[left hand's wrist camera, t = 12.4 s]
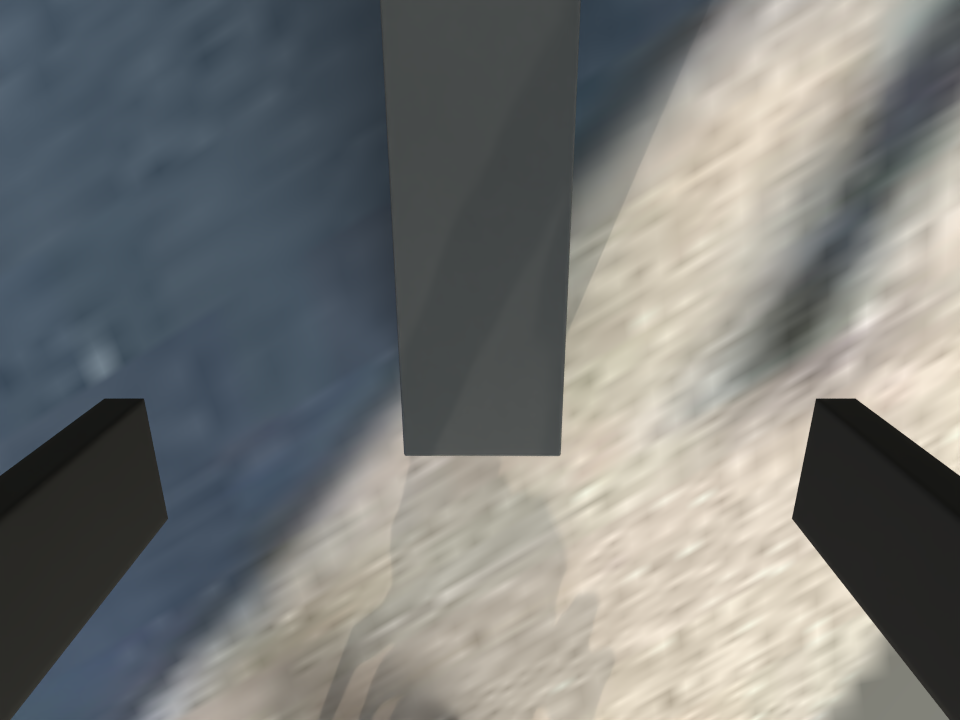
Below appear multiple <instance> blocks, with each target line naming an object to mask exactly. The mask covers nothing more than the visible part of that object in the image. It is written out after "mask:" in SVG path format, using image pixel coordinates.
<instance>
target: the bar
mask: <svg viewBox="0 0 960 720" xmlns="http://www.w3.org/2000/svg"><path fill="white" fill-rule="evenodd" d="M580 1H581V0H380V8H381V27H382V46H383V65H384V83H385V102H386V121H387V140H388V159H389V177H390V196H391V215H392V234H393V253H394V271H395V290H396V309H397V328H398V347H399V365H400V384H401V403H402V422H403V441H404V454H405V456H560V454H561V432H562V410H563V387H564V364H565V342H566V319H567V296H568V273H569V251H570V228H571V205H572V183H573V160H574V137H575V115H576V92H577V69H578V47H579V24H580Z"/></svg>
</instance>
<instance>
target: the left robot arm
mask: <svg viewBox="0 0 960 720" xmlns="http://www.w3.org/2000/svg"><path fill="white" fill-rule="evenodd" d="M167 519H168V517H167V512H166V507H165V502H164V497H163V492H162V487H161V482H160V477H159V472H158V467H157V462H156V457H155V452H154V447H153V442H152V437H151V432H150V427H149V422H148V417H147V412H146V407H145V402H144V399H103V400H102V401H101V402H99V403H98V404H97V405H95V406H94V407H93V408H91V409H90V410H89V411H87V412H86V413H85V414H83V415H82V416H81V417H79V418H78V419H76V420H75V421H74V422H72V423H71V424H70V425H68V426H67V427H66V428H64V429H63V430H62V431H60V432H59V433H58V434H56V435H55V436H54V437H52V438H51V439H49V440H48V441H47V442H45V443H44V444H43V445H41V446H40V447H39V448H37V449H36V450H35V451H33V452H32V453H31V454H29V455H28V456H27V457H25V458H24V459H22V460H21V461H20V462H18V463H17V464H16V465H14V466H13V467H12V468H10V469H9V470H8V471H6V472H5V473H4V474H2V475H1V476H0V720H11V718H12V717H13V716H14V714H15V713H16V712H17V711H18V709H19V708H20V707H21V705H22V704H23V703H24V702H25V700H26V699H27V698H28V697H29V695H30V694H31V693H32V691H33V690H34V689H35V688H36V686H37V685H38V684H39V683H40V681H41V680H42V679H43V677H44V676H45V675H46V674H47V672H48V671H49V670H50V668H51V667H52V666H53V665H54V663H55V662H56V661H57V660H58V658H59V657H60V656H61V654H62V653H63V652H64V651H65V649H66V648H67V647H68V646H69V644H70V643H71V642H72V640H73V639H74V638H75V637H76V635H77V634H78V633H79V632H80V630H81V629H82V628H83V626H84V625H85V624H86V623H87V621H88V620H89V619H90V617H91V616H92V615H93V614H94V612H95V611H96V610H97V609H98V607H99V606H100V605H101V603H102V602H103V601H104V600H105V598H106V597H107V596H108V595H109V593H110V592H111V591H112V589H113V588H114V587H115V586H116V584H117V583H118V582H119V580H120V579H121V578H122V577H123V575H124V574H125V573H126V572H127V570H128V569H129V568H130V566H131V565H132V564H133V563H134V561H135V560H136V559H137V558H138V556H139V555H140V554H141V552H142V551H143V550H144V549H145V547H146V546H147V545H148V543H149V542H150V541H151V540H152V538H153V537H154V536H155V535H156V533H157V532H158V531H159V529H160V528H161V527H162V526H163V524H164V523H165V522H166V521H167ZM792 519H793V521H794V522H795V523H796V524H797V526H798V527H799V528H800V529H801V531H802V532H803V533H804V535H805V536H806V537H807V538H808V540H809V541H810V542H811V543H812V545H813V546H814V547H815V549H816V550H817V551H818V552H819V554H820V555H821V556H822V558H823V559H824V560H825V561H826V563H827V564H828V565H829V566H830V568H831V569H832V570H833V572H834V573H835V574H836V575H837V577H838V578H839V579H840V580H841V582H842V583H843V584H844V586H845V587H846V588H847V589H848V591H849V592H850V593H851V595H852V596H853V597H854V598H855V600H856V601H857V602H858V603H859V605H860V606H861V607H862V609H863V610H864V611H865V612H866V614H867V615H868V616H869V617H870V619H871V620H872V621H873V623H874V624H875V625H876V626H877V628H878V629H879V630H880V632H881V633H882V634H883V635H884V637H885V638H886V639H887V640H888V642H889V643H890V644H891V646H892V647H893V648H894V649H895V651H896V652H897V653H898V654H899V656H900V657H901V658H902V660H903V661H904V662H905V663H906V665H907V666H908V667H909V669H910V670H911V671H912V672H913V674H914V675H915V676H916V677H917V679H918V680H919V681H920V682H921V684H922V685H923V686H924V688H925V689H926V690H927V691H928V693H929V694H930V695H931V697H932V698H933V699H934V700H935V702H936V703H937V704H938V705H939V707H940V708H941V709H942V711H943V712H944V713H945V714H946V716H947V717H948V718H949V720H960V476H959V475H958V474H956V473H955V472H954V471H952V470H951V469H950V468H948V467H947V466H946V465H944V464H943V463H942V462H940V461H939V460H938V459H936V458H935V457H933V456H932V455H931V454H929V453H928V452H927V451H925V450H924V449H923V448H921V447H920V446H919V445H917V444H916V443H915V442H913V441H912V440H911V439H909V438H908V437H906V436H905V435H904V434H902V433H901V432H900V431H898V430H897V429H896V428H894V427H893V426H892V425H890V424H889V423H888V422H886V421H885V420H884V419H882V418H881V417H879V416H878V415H877V414H875V413H874V412H873V411H871V410H870V409H869V408H867V407H866V406H865V405H863V404H862V403H861V402H859V401H858V400H857V399H816V402H815V407H814V412H813V417H812V422H811V427H810V432H809V437H808V442H807V447H806V452H805V457H804V462H803V467H802V472H801V477H800V482H799V487H798V492H797V497H796V502H795V507H794V512H793V517H792Z"/></svg>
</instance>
